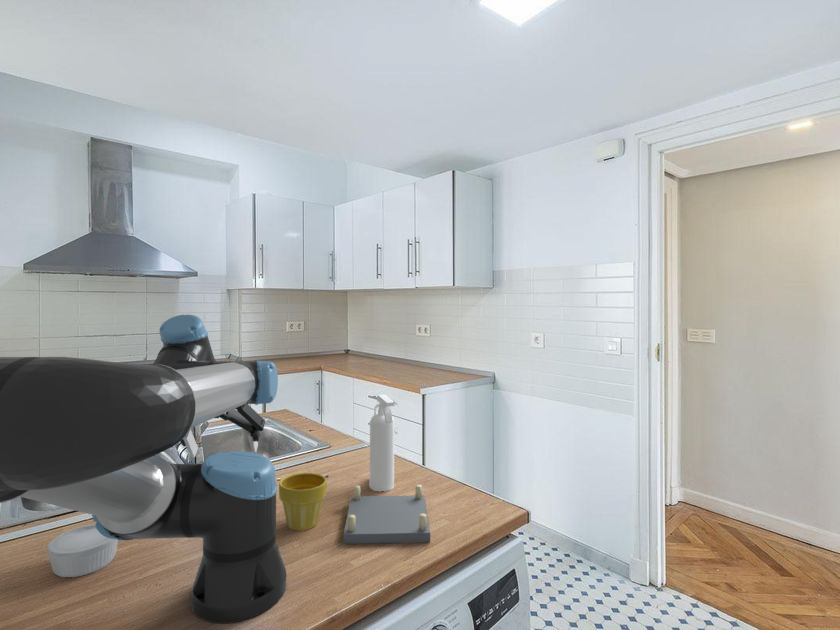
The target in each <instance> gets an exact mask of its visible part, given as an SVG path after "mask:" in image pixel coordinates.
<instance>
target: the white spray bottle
mask: <svg viewBox="0 0 840 630" xmlns="http://www.w3.org/2000/svg"><path fill="white" fill-rule="evenodd" d="M376 401H377V402H378V403H376V405H375V406H374V415H373V416H372V417H371V418H370V421H369V488H370V489H372V491H374V492H377V491H378V493H379V492H381V491H384V492H388V490H389V491H391V490H393V489H394V487H395V424H396V423H395V419H394V417H393V414H392V408H391V407H395V401H393V400H392V399H391V398H390V397H389V396H387V395H386V394H385V393H384V394H377V398H376ZM381 493H382V492H381Z"/></svg>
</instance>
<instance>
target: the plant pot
mask: <svg viewBox="0 0 840 630" xmlns="http://www.w3.org/2000/svg"><path fill="white" fill-rule="evenodd" d="M327 484H328V483H327V478H326V476H325V475H322V474H320V473H316V472H300V473H294V474H290V475H287V476H285V477H283V478H282V479H280V481H279V482H278V497H279V500H280V501H281V502H282V505H283V511H284V516H285V522H286V526H287V527H288V529H290V530H292V531H297V532H299V531H306V530H307V531H308V530H310V529H313V528H314V527H315V526H317V524H318V522H319V517H320V513H321V507H322V503H323V499H324V498H325V497H326V495H327V487H328V485H327Z"/></svg>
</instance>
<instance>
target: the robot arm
mask: <svg viewBox="0 0 840 630" xmlns="http://www.w3.org/2000/svg"><path fill="white" fill-rule="evenodd" d="M159 337H160V340H161V342H162V343H163V344H162V347H161V349H160V350H159V352H158V353H157V356H156V357H155V360H154V361H153V362H152V363H147V364H146V363H144V364H141V363H139V364H135V363H127V362H126V363H124V362H116V361H115V362H114V361H108V360H99V359H92V358H91V359H89V358H80V357H68V356H0V504H3V503H7V502H10V501H12V500H16V499H17V498H25V499H29V500H32V501H36V502H39V503H45V504H48V505H52V506H55V507H59V508H63V509H64V508H65V509H68V510H73V511H75V512H80V513H85V514H88V515H91V516H92V521H93V522H95V524H96V525H95V527H96V529H97V530H98V532H99V533H100V534H102V535H103V536H105V537H107V538H111V539H117V540H118V541H132V540H140V539H141V540H146V539H147V540H149V539H154V540H155V539H179V538H183V539H184V538H189V539H191V538H195V539H196V538H197V539H198V538H199V539H202V557H201V560H200V563H199V566H198V569H197V572H196V575H195V578H194V581H193V584H192V588H191V593H190V594H191V596H190V597H191V609H192V611H193V613H194V614H195V615H196V617H198V618H199V619H201V620H204V621H206V622H210V623H215V624H217V623H218V624H219V623H220V624H226V623H227V624H228V623H229V624H230V623H235V622H240V621H241V622H242V621H245V620H249V619H251V618H254V617H257V616H258V615H260V614H263V613H264V612H266V611H268V610H269V609H271V608H272V607H273V606H275V604H277V603H278V602H279V601H280V600H281V598H282V597H283V595H284V594H285V591H286V589H287V570H286V566H285V563H284V561H283V559H282V555H281V553H280V551H279V547H278V544H277V534H276V533H277V492H278V487H277V486H278V485H277V481H276V468H275V466H274V463H273V462H272V461H271V460H270V459H269V458H267V457H266V456H264V455H262V454H260V453H257V451H258V447H259V441H260V436H261V435H260V432H263V431H264V427H265V424H266V420H265V419H264V418H263V417H262V416H261V415H260V414H259V413H258V412H257V411H256V410H255V409H254V408H252V406H251V405H254V406H257V405H263V404H271V403H272V402H274V400H275V398H276V396H277V391H278V385H279V383H278V382H279V376H278V374H279V373H278V368H277V366H276V364H275V363H274V362H272V361H268V360H267V361H266V360H259V359H257V360H256V359H255V360H221V361H220V360H218V361H217V360H216V359H215V356H214V353H213V350H212V347H211V343H210V339H209V333H208V330H207V329H206V327H205V325H204V322H203V319H201V318H200V317H199V316H197V315H194V314H179V315H175V316H172V317H170V318H169V319H166V320H164V322H162V324H161V325H160V327H159ZM212 419H222V420H224V421H229V422H230V423H233V424H234V425H236V426H238V428H242V429H243V430H245V431H246V432H247V433H246V437H247V439H248V443H249V447H250V450H251V452H250V451H245V450H244V451H243V450H242V451H241V450H232V451H230V450H228V451H227V452H223V451H222V452H216V453H214V454H211V455H209V456H207V457H206V458H204V460H203V462H202V463H172V462H170V461H168V460H166V459H165V458H163V457H161V456H158V455H159V454H161V453H163V452H165V451H166V450H169V449H171V448H173V447H174V446H175V445H177V444H178V443H180V444H181V445H182V446H183V447H186V449H187V451H188V454H189V457H190V458H191V459H194V458H195V457H196V455H197V452H198V450H199V447H198V444H197V442H196V439H195V436H194V434H193V432H192V428H195V427H197V426H199V425H201V424H203V423H205V422H208V421H210V420H212Z"/></svg>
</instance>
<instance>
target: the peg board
mask: <svg viewBox="0 0 840 630" xmlns="http://www.w3.org/2000/svg"><path fill="white" fill-rule="evenodd" d="M414 489H415V492H414V493H415V495H363V496H361V486H360V485H354V486H353V496H351V497H350V501H349V507H348V511H347V515H346V521H345V526H344V531H343V544H344V545H350V544H357V545H358V544H396V543H397V544H398V543H399V544H400V543H402V544H404V543H430V542H431V529H430V523H429V522H430V521H429V516H428V510H427V503H426V497H425V495H423V486H422V484H416V485H415V488H414Z"/></svg>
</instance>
